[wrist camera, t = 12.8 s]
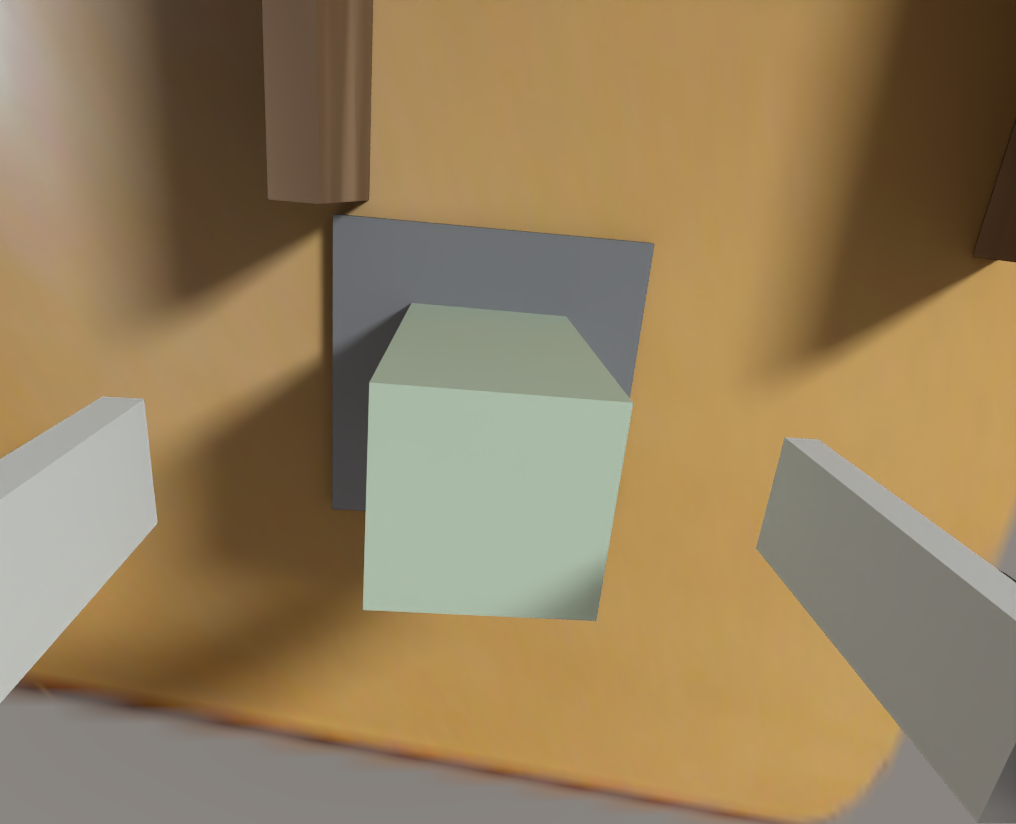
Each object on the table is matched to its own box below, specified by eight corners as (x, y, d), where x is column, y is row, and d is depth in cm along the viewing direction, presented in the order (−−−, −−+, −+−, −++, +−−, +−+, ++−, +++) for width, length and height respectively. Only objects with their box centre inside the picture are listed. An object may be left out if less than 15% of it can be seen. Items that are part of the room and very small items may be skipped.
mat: (335, 502, 23) (332, 509, 22) (336, 214, 20) (332, 214, 19) (606, 517, 24) (609, 523, 23) (650, 242, 21) (654, 243, 20)
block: (404, 447, 22) (362, 610, 13) (411, 302, 20) (369, 382, 12) (548, 457, 22) (596, 620, 14) (566, 316, 21) (633, 402, 12)
